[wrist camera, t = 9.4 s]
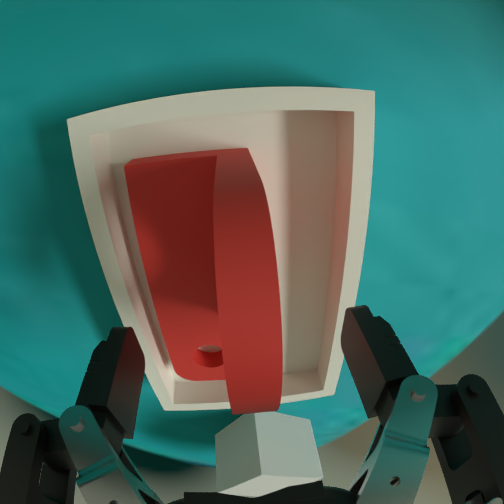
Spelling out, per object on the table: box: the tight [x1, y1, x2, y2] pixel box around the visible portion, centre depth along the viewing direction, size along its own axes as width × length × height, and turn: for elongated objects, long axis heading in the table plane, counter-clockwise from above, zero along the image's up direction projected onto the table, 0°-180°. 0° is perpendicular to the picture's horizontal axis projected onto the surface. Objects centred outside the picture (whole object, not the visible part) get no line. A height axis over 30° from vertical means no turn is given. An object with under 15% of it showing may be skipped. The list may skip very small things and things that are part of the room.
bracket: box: [124, 148, 283, 415], centre depth 10 cm, size 12×4×8 cm, turn 2°
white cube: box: [215, 411, 323, 497], centre depth 21 cm, size 6×6×6 cm
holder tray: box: [67, 87, 375, 411], centre depth 14 cm, size 11×17×2 cm, turn 3°
